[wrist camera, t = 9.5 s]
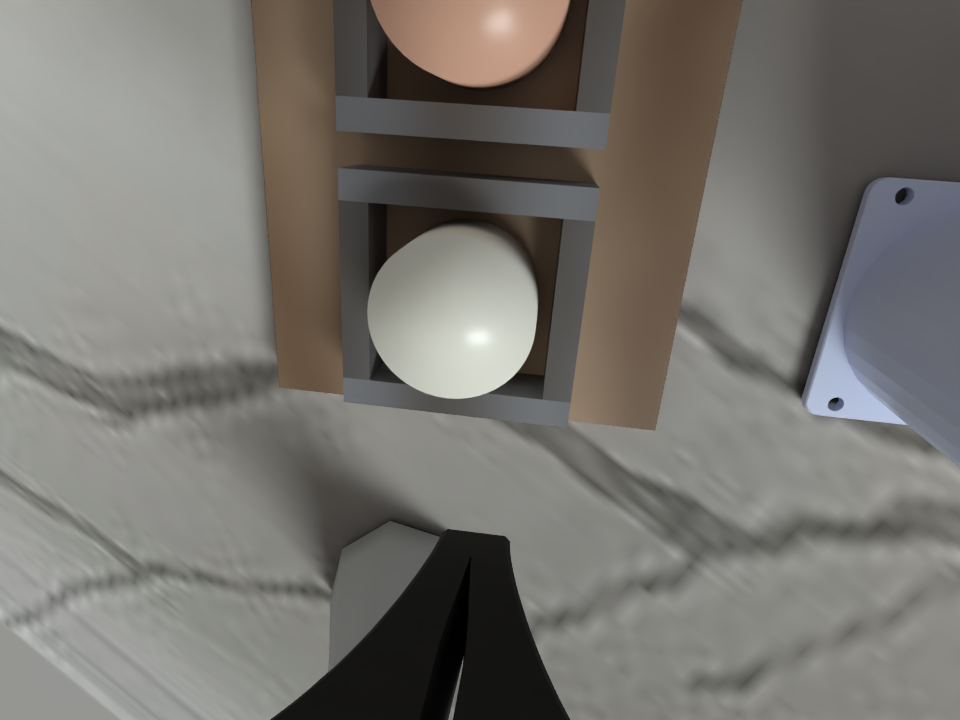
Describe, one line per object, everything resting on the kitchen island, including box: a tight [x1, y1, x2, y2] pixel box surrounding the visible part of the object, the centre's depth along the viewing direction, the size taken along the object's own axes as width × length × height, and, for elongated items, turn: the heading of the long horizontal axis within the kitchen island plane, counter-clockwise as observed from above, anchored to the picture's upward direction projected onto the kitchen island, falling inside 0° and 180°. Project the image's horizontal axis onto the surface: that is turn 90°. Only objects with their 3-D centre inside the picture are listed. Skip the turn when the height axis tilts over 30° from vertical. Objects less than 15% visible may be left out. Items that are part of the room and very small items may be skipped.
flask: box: [328, 521, 440, 672], centre depth 22 cm, size 7×7×10 cm
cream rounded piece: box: [367, 219, 539, 399], centre depth 18 cm, size 5×5×3 cm
